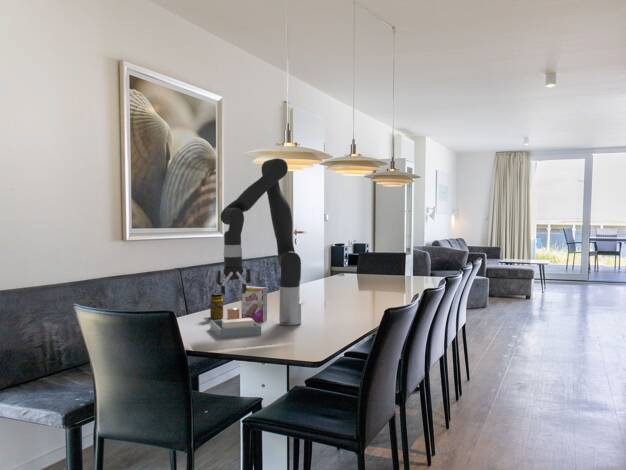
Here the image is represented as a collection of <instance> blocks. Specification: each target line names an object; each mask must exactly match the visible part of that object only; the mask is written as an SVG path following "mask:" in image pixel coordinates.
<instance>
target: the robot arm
mask: <svg viewBox="0 0 626 470" xmlns="http://www.w3.org/2000/svg"><path fill="white" fill-rule="evenodd" d="M288 170H289V167H288V164H287V161H285V159H283V158H281V157H276V158H272V159H268V160H265V161H264V162H263V163H262V165H261V175H262V176H260V178H258V179H257V180H256V181H255V182H253V183H252V184H250V185H249V186H248V187H247V188H245V189H244V191H243V192H242V193H241V194H240V195H239V196H238V197H237V198H236V199H235V200H234V201H232V202H230V203H229V204H228V205H227V206H226V207H224V208H223V209H222V211H221V213H220V221H221V222H222V223H223V224H225V225H228V230H227V231H225V232H224V235H223V241H224V243H223V270H221V269H220V270H219V269H217V270H216V274H215V275H216V276H215V277H216V278H215V284H216V285H218V286H220V293H221V294H222V296H224V295H226V286H225V285H226V284H227V283H228V281H229V280H230V281H233V280H239V281H240V282H241V294H242V293H245V292H246V286H247V284H250V283H251V270H250V269H249V268H247V267H246V268H243V249H242V232H243V228H244V223H245V216H244V215H245V214H244V213H246V212H248V211H250V209H251V208H253V207H254V206H255V204H257V202H258V200H260V198H261V197H263V195H264V194H265V193H266V194H267V200H268V205H269V212H270V216H271V217H270V218H271V222H272V227H273V232H274V236H275V240H276V245H277V246H276V247H277V262H278V266H279V267H280V279H279V280H278V281H279V283H278V284H279V288H278V289H279V295H278V296H279V298H278V299H279V301H278V302H279V304H278V305H279V310H278V311H279V315H278V316H279V320H278V321H279V323H278V324H280V325H281V326H296V325H301V324H302V303H301V302H300V297H301V296H300V287H301V286H300V285H301V279H302V277H301V276H302V261H301V260H302V259H301V257H300V255H299V254H298V253H297V252H296V251H295V246H294V243H293V217H292V210H291V207H290V204H289V202H288V200H287V199H286V197H285V195H283V192H282V190H281V187H280V180H281V179H283V178H284V177H285V176H286V175H287V173H288ZM243 274H245V278H244V277H243V276H242V275H243ZM222 275H224V277H223V278H222V280H221V276H222Z"/></svg>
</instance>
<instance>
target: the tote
mask: <svg viewBox="0 0 626 470" xmlns="http://www.w3.org/2000/svg"><path fill="white" fill-rule="evenodd" d="M239 319H243V318H242V317H239ZM222 320H223V319H222ZM222 320H212V321H210V322H209V324H210V326H209V327H210V330H211V332H213V333H214V335H216V336H217V338H219V339H220V340H221V339H230V338H231V339H232V338H240V337H250V336H251V337H253V336H259V335H262V326H261V325H260V324H259V323H258V322H254V326H250V327H239V328H228V329H222Z"/></svg>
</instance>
